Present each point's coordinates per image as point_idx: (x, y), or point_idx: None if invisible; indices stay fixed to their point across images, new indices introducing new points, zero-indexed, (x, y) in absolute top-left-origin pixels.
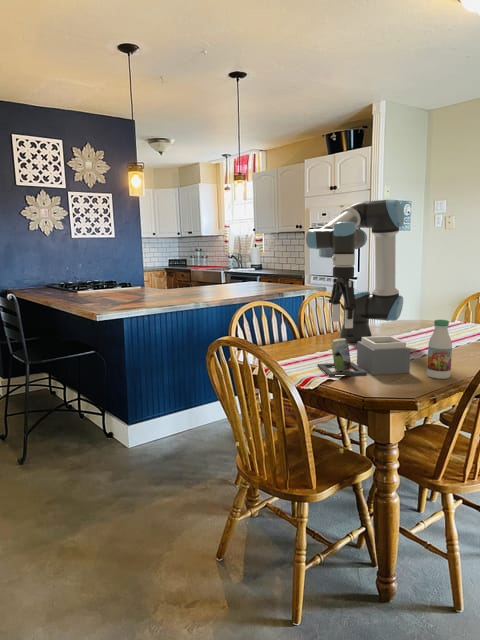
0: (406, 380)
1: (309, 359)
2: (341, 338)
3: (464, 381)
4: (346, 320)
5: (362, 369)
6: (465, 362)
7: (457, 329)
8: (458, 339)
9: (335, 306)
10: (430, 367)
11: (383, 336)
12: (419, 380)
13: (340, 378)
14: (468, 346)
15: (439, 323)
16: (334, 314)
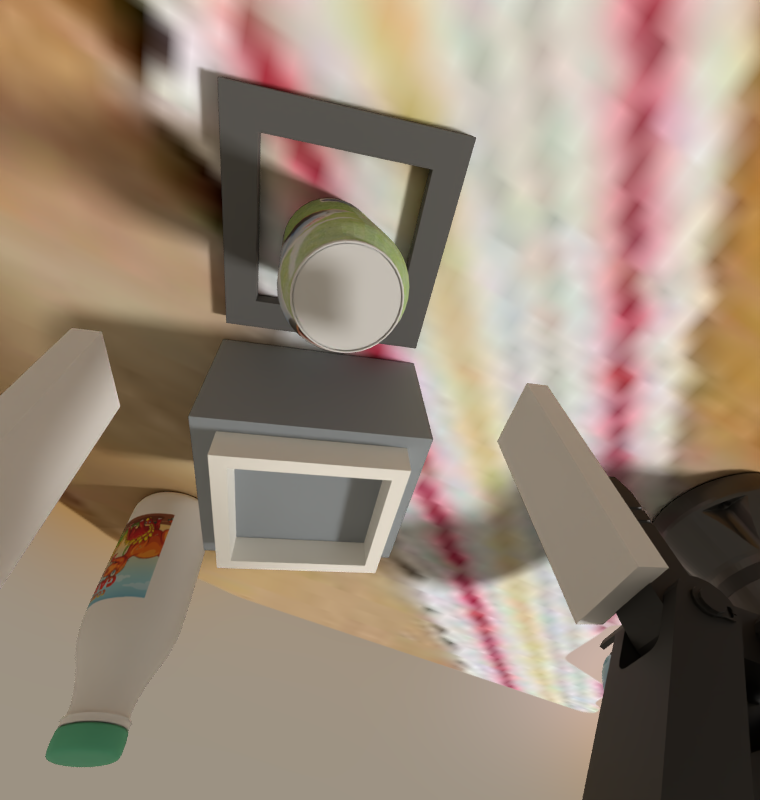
0: (127, 415)
1: (632, 173)
2: (382, 337)
3: (112, 538)
4: (13, 400)
5: (277, 328)
6: (305, 606)
7: (573, 687)
8: (501, 663)
9: (600, 561)
10: (147, 520)
11: (377, 548)
12: (126, 450)
13: (181, 142)
14: (436, 655)
15: (53, 741)
16: (552, 457)
